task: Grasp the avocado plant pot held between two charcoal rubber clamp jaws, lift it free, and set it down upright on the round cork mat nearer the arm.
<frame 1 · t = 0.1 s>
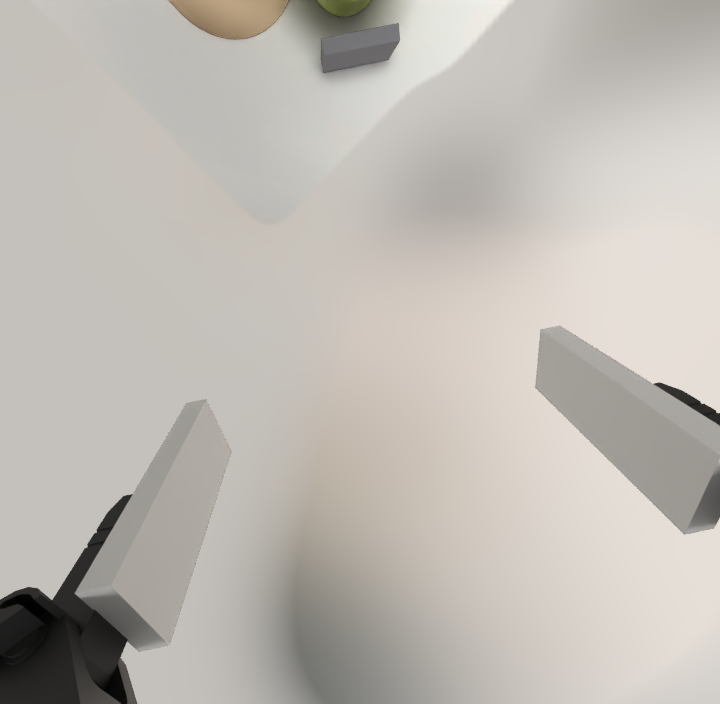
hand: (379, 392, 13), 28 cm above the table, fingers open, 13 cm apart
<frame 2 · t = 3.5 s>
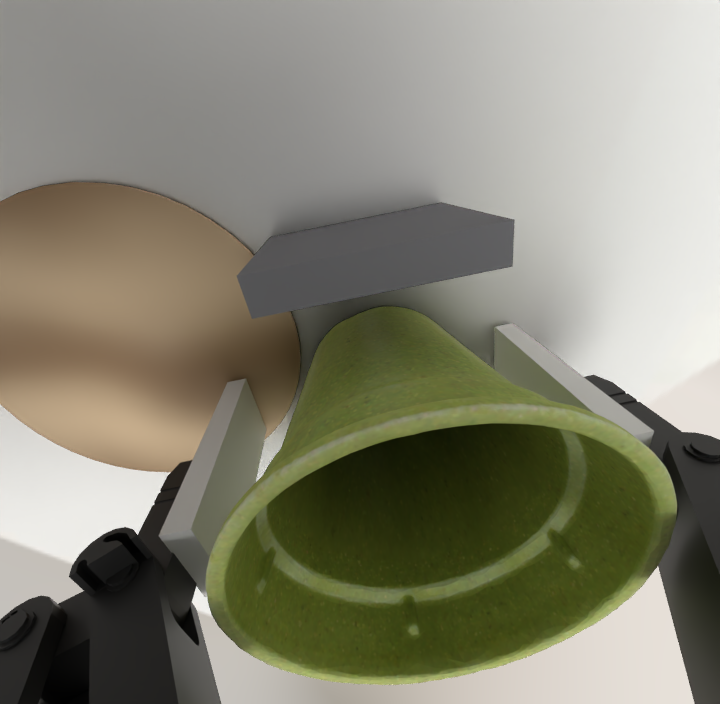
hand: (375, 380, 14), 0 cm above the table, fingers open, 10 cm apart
clamp jaws: (382, 373, 15), on the table
coaster: (144, 354, 13), on the table
plant pot: (381, 370, 15), on the table
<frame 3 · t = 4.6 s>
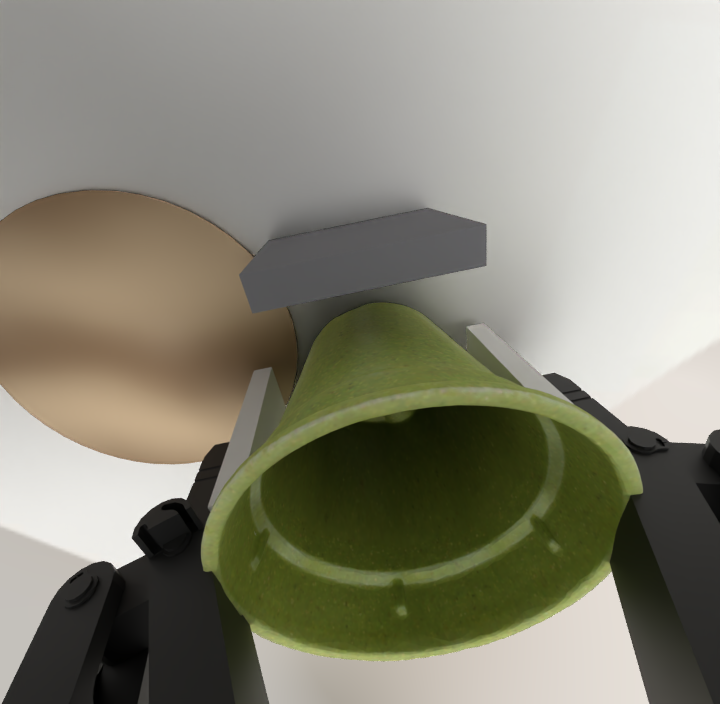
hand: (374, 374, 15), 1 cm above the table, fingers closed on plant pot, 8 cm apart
clamp jaws: (374, 368, 15), on the table
coaster: (150, 351, 14), on the table
plant pot: (376, 364, 15), on the table, touching gripper
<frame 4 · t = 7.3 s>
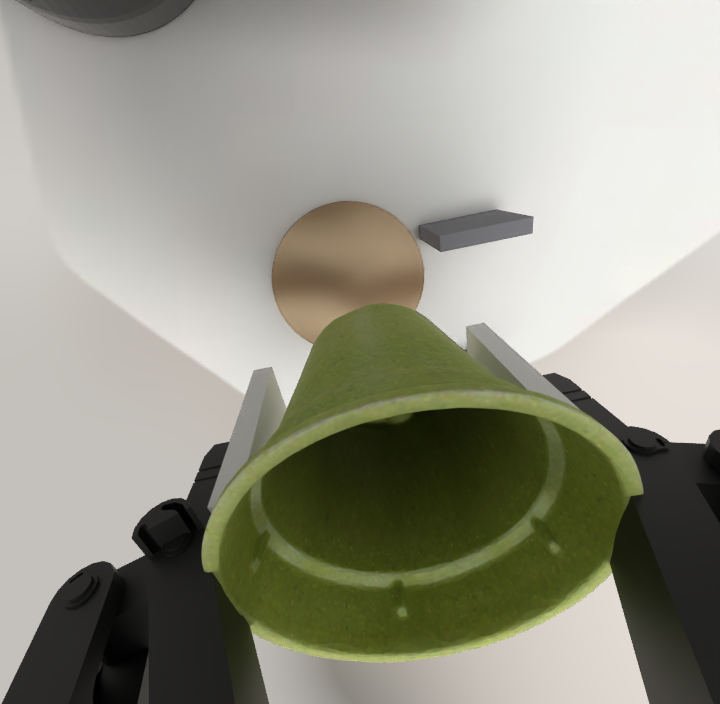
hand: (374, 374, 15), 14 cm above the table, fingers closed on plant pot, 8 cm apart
clamp jaws: (460, 296, 28), on the table
coaster: (349, 283, 27), on the table
plant pot: (376, 365, 15), point 13 cm above the table, touching gripper
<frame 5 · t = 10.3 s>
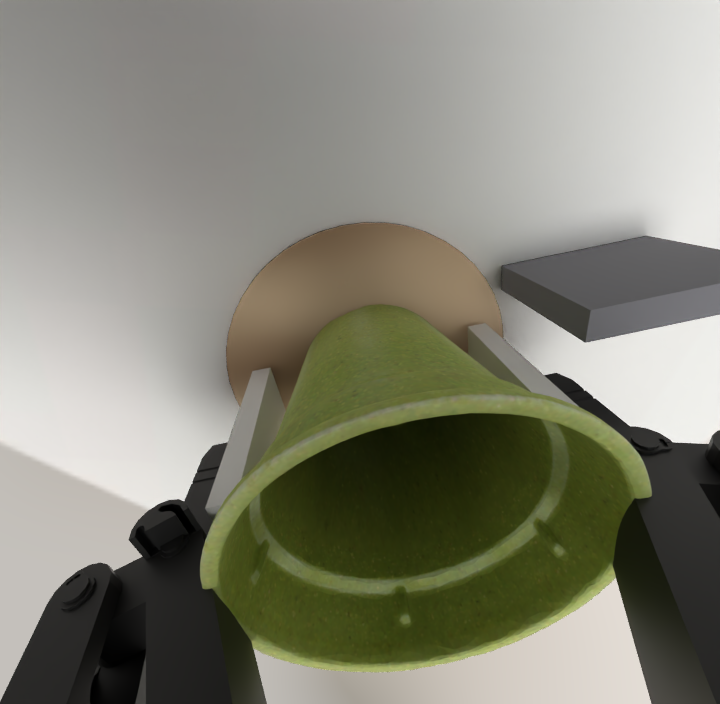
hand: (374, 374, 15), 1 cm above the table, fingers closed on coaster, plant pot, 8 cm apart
clamp jaws: (557, 379, 17), on the table
coaster: (368, 365, 15), on the table
plant pot: (373, 367, 15), resting on coaster, touching gripper
when the fingers open (1 cm above the table, at t = 11.7 s): plant pot stays where it is, resting on coaster.
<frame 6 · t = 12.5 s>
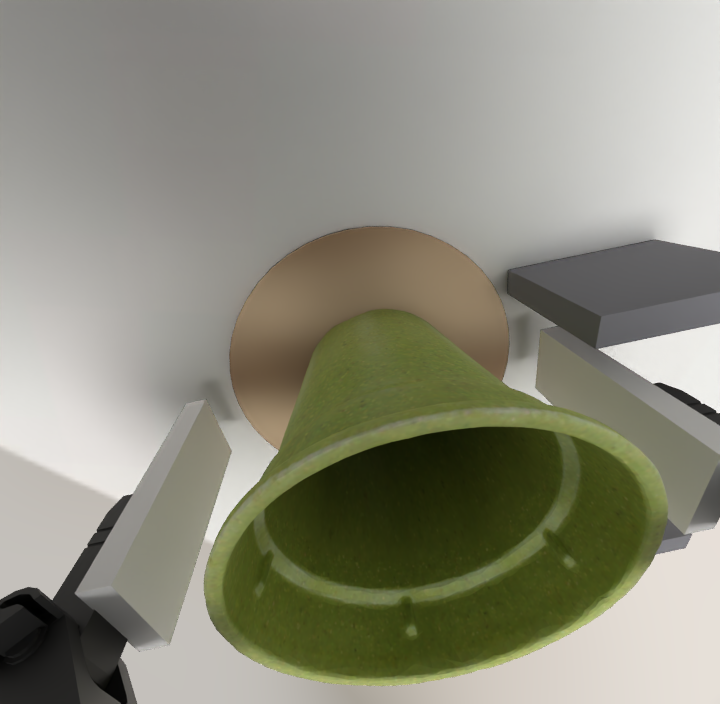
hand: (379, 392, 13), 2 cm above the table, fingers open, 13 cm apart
clamp jaws: (564, 384, 16), on the table
coaster: (373, 370, 15), on the table
plant pot: (377, 372, 15), resting on coaster
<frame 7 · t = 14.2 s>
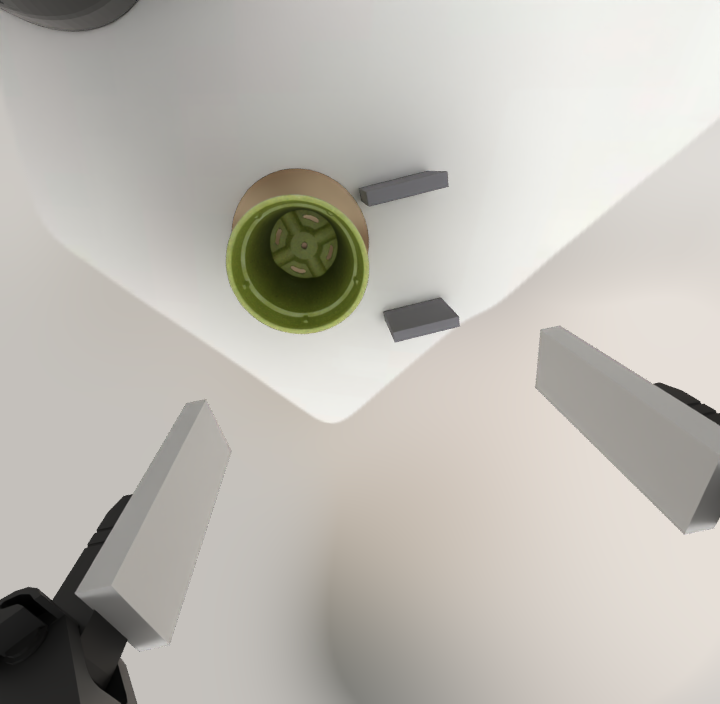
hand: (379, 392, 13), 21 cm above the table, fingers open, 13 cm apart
clamp jaws: (404, 253, 32), on the table
coaster: (302, 244, 30), on the table
plant pot: (304, 245, 30), resting on coaster
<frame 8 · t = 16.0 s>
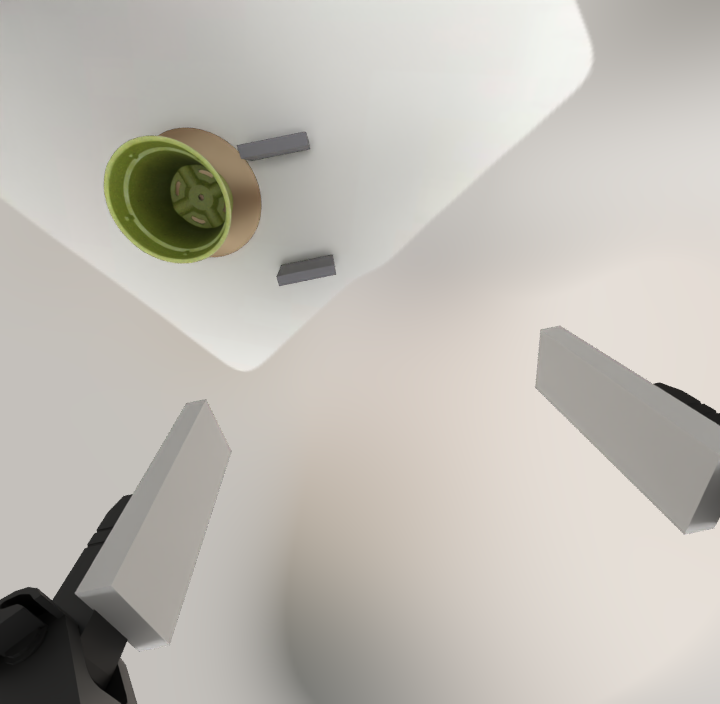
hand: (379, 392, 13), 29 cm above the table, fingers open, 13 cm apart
clamp jaws: (294, 211, 36), on the table
coaster: (201, 197, 35), on the table
plant pot: (203, 198, 35), resting on coaster
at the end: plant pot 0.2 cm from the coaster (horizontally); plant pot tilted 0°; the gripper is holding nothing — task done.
